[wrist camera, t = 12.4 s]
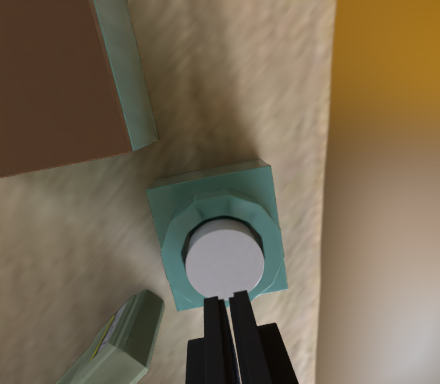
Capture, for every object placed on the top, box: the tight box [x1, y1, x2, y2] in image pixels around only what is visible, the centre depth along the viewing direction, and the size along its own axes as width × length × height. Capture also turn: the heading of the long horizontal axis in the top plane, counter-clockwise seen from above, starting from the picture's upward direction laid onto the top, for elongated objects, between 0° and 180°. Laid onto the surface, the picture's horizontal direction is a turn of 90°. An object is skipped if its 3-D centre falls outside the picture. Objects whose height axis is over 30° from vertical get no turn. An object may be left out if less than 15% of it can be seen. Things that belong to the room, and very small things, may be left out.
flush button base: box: [146, 159, 288, 311], centre depth 19 cm, size 9×8×5 cm
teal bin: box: [93, 0, 159, 151], centre depth 14 cm, size 14×12×8 cm
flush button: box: [185, 219, 264, 301], centre depth 16 cm, size 4×4×2 cm
